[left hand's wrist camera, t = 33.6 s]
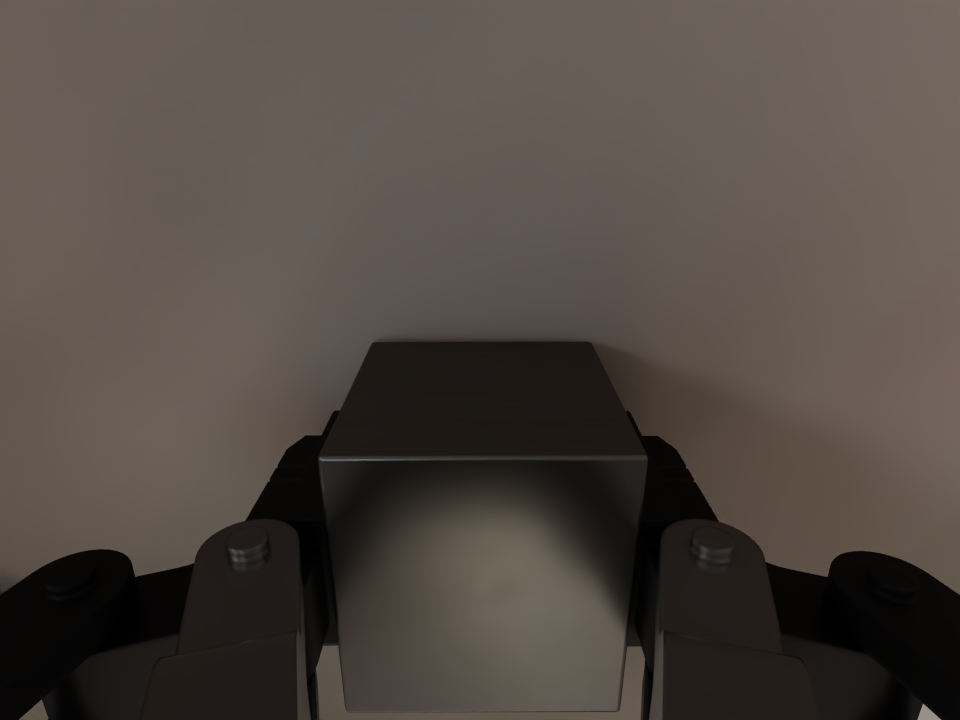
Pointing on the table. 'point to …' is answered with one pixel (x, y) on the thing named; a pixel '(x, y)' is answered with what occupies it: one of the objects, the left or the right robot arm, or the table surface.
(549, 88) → the table surface
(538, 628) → the metal block
